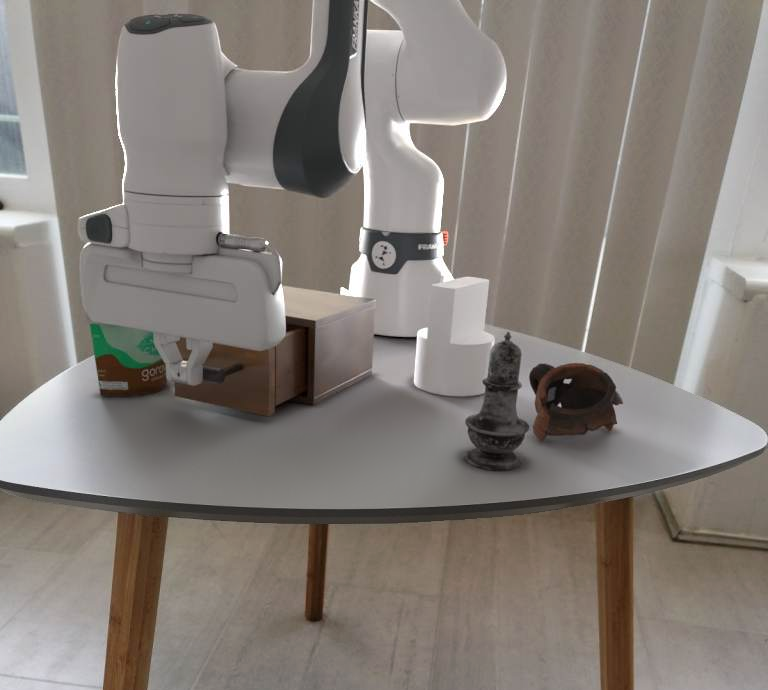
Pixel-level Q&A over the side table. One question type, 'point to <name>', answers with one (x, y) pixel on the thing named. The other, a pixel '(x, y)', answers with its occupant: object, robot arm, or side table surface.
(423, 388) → the cylinder with rectangular tab
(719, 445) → the side table surface
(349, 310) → the cabinet
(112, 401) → the side table surface
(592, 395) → the pottery mug
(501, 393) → the salt shaker
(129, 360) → the food container
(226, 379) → the drawer
